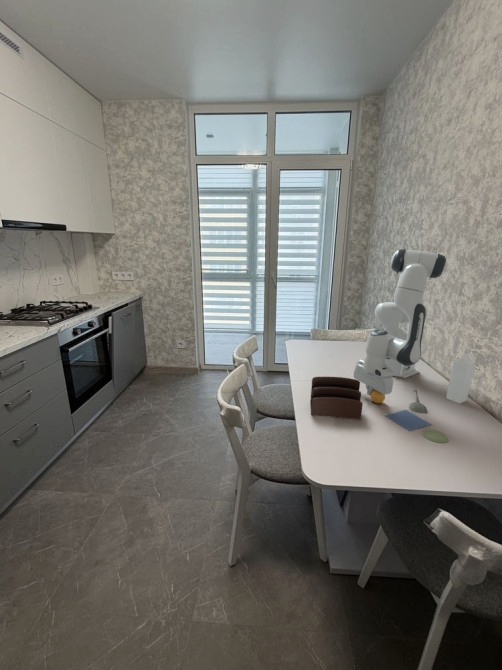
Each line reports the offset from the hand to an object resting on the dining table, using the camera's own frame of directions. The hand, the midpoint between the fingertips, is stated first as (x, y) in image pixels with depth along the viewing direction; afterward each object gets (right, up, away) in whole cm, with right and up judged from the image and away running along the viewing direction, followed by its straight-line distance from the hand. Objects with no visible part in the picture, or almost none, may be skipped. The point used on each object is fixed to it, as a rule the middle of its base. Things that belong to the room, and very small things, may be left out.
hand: (369, 394), depth 140 cm
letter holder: (-19, -5, -11) cm, 22 cm away
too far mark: (+14, -10, -27) cm, 32 cm away
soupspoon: (+21, -4, -1) cm, 21 cm away
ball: (+2, 0, -3) cm, 4 cm away
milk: (+40, -3, +1) cm, 40 cm away
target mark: (+9, -7, -16) cm, 20 cm away
